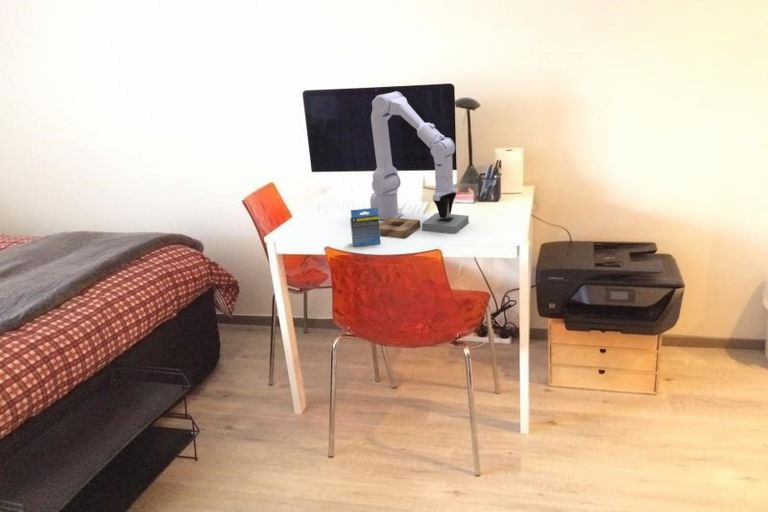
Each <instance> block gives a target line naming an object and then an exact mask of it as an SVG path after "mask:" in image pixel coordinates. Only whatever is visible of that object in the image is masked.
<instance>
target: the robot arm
mask: <svg viewBox="0 0 768 512" xmlns="http://www.w3.org/2000/svg"><path fill="white" fill-rule="evenodd" d="M371 105H372V110H371V113H370V114H371V115H370V121H371V130H372V131H371V132H372V139H373V146H374V154H375V161H376V169H375V170H374V171H373V173H372V181H371V188H372V191H373V193H372V194H371V196H370V199H369V201H370V202H369V203H370V208H378V215H379V221H381V220H382V221H384V220H385V219H387V218H389V217H392V218H401V216H403V214H404V213H403V212H399V205H398V204H399V203H398V192H399V188H400V186H401V182H402V181H401V178H400V176H399V174H398V169H397V168H396V167H395V166H394V165H393V159H392V157H393V156H392V151H391V141H390V133H389V124H388V123H389V122H388V121H389V120H390V118H391V117H392V116H393V115H394V116H401V118H403V119H404V121H406V122H407V123H408V124H410V126H412V127H413V128H414V129H416V134H417V137H418V138H419V139H420V140H422V142H423V143H424V144H425V145H426V146H427V147H428V148H429V149H430V154H431V156H432V157H433V163H434V169H435V170H434V175H435V178H434V179H435V181H434V182H435V190H434V193H433V194H432V201H433V202H434V204H435V206H436V209H437V211H438V212H437V213H439V216H440V217H442V218H446V216H447V208H448V203H449V214H452V209H453V204H454V201H455V198H456V196H457V188H456V183H454V181H453V180H454V176H453V154H455V152H456V144H455V143H454V141H453V139H452V138H451V137H445V135H443V134H442V133H441V132H440V131H439V130H438V129H436V125H435V124H434V123H431V122H425V121H424V120H423V119H422V118H421V117H420V115H419V114H417V112H416V111H415V110H414V109H413V107H411V105H410V104H409V103H408V100H407V98H406V97H405V96H403V94H402V93H401V92H400V91H396V90H395V91H393V92H392V91H391V92H389V93H384V94H379V95H376V96H375V98H374V99H372V101H371Z"/></svg>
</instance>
